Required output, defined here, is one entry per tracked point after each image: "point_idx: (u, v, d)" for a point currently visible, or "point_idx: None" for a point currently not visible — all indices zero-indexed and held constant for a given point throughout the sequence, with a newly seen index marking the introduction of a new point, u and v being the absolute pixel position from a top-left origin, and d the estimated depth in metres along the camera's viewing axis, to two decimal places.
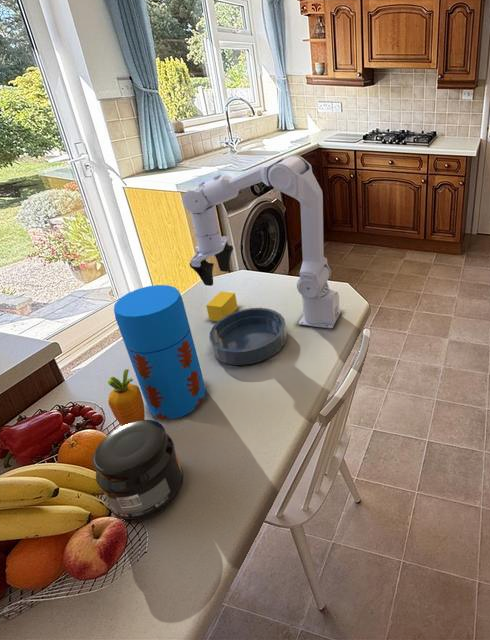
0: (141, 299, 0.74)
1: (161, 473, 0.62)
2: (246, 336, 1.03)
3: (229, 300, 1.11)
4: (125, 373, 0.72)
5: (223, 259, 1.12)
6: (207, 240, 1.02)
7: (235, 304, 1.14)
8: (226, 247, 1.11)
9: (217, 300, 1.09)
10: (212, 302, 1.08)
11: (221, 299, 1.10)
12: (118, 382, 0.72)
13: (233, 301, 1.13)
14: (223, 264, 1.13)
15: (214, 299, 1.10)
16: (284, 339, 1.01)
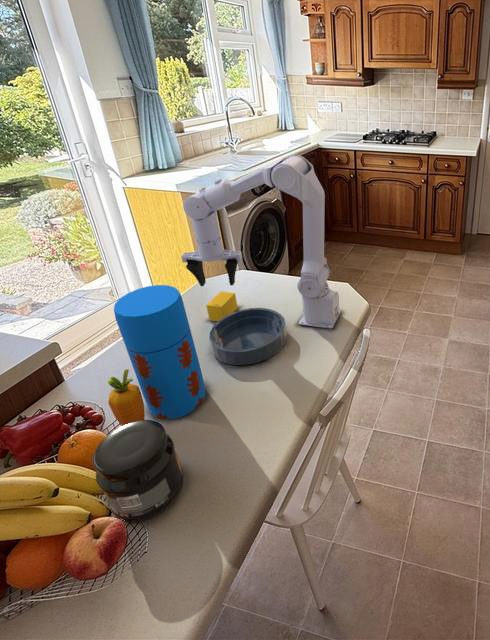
0: (141, 299, 0.74)
1: (161, 473, 0.62)
2: (246, 336, 1.03)
3: (229, 300, 1.11)
4: (125, 373, 0.72)
5: None
6: (197, 244, 1.02)
7: (235, 304, 1.14)
8: (230, 262, 1.05)
9: (217, 300, 1.09)
10: (212, 302, 1.08)
11: (221, 299, 1.10)
12: (118, 382, 0.72)
13: (233, 301, 1.13)
14: None
15: (214, 299, 1.10)
16: (284, 339, 1.01)
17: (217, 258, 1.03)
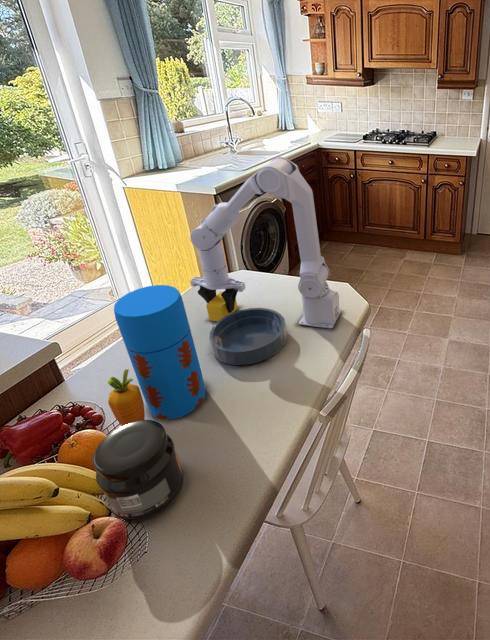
0: (141, 299, 0.74)
1: (161, 473, 0.62)
2: (246, 336, 1.03)
3: None
4: (125, 373, 0.72)
5: None
6: None
7: (235, 304, 1.14)
8: (232, 292, 1.07)
9: (217, 300, 1.09)
10: (212, 302, 1.08)
11: (221, 299, 1.10)
12: (118, 382, 0.72)
13: None
14: None
15: (214, 299, 1.10)
16: (284, 339, 1.01)
17: (219, 287, 1.05)
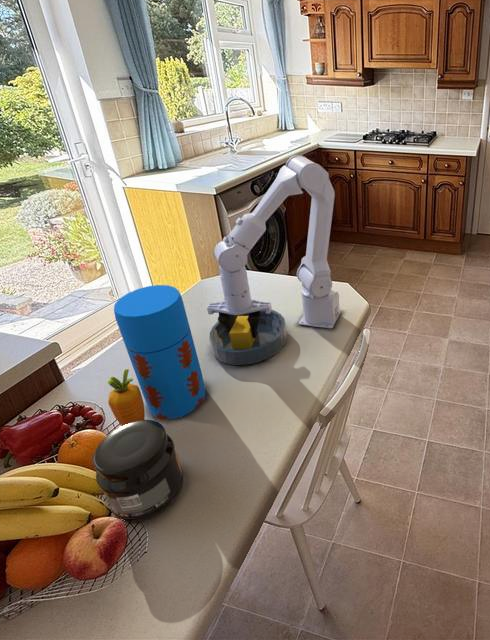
0: (141, 299, 0.74)
1: (161, 473, 0.62)
2: None
3: None
4: (125, 373, 0.72)
5: None
6: (224, 296, 0.94)
7: None
8: (259, 315, 0.97)
9: (240, 326, 0.99)
10: (235, 329, 0.98)
11: (244, 325, 0.99)
12: (118, 382, 0.72)
13: None
14: None
15: (235, 325, 0.99)
16: (284, 339, 1.01)
17: (245, 311, 0.95)
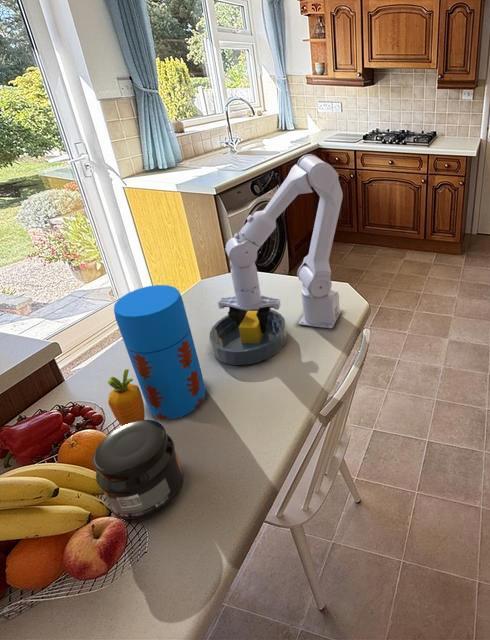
0: (141, 299, 0.74)
1: (162, 473, 0.62)
2: None
3: None
4: (125, 373, 0.72)
5: None
6: None
7: None
8: (267, 310, 0.99)
9: (249, 321, 1.01)
10: (244, 323, 1.00)
11: (253, 319, 1.01)
12: (118, 382, 0.72)
13: None
14: None
15: (245, 320, 1.01)
16: (284, 339, 1.01)
17: (254, 306, 0.97)
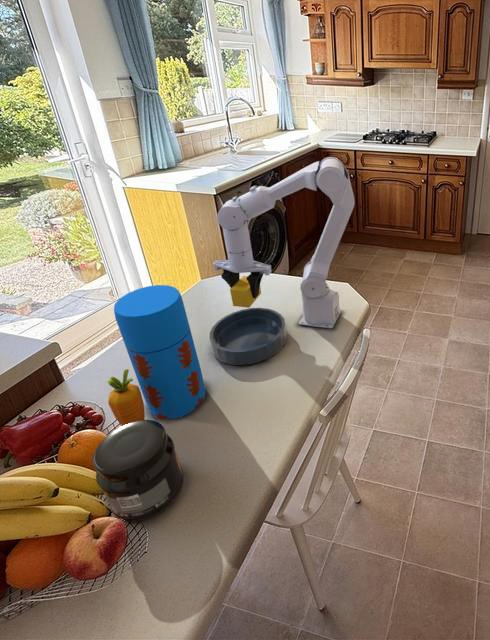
0: (141, 299, 0.74)
1: (162, 473, 0.62)
2: (246, 336, 1.03)
3: None
4: (125, 373, 0.72)
5: None
6: (227, 254, 0.99)
7: (259, 289, 1.08)
8: (258, 275, 1.01)
9: (241, 284, 1.03)
10: (236, 287, 1.02)
11: (245, 284, 1.04)
12: (118, 382, 0.72)
13: None
14: None
15: (238, 283, 1.04)
16: (284, 339, 1.01)
17: (245, 270, 0.99)
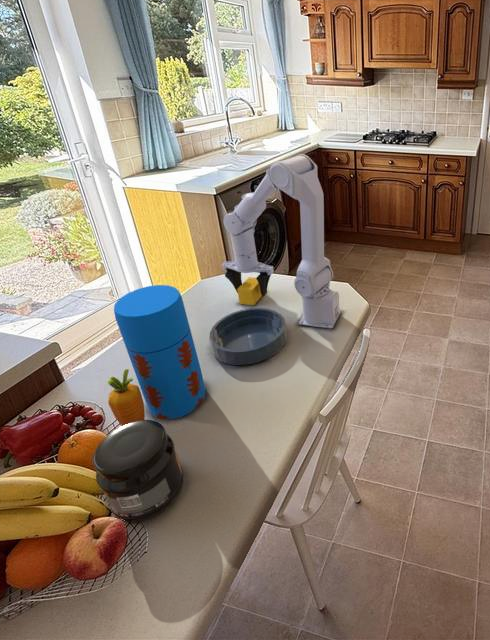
0: (141, 299, 0.74)
1: (161, 473, 0.62)
2: (246, 336, 1.03)
3: (258, 285, 1.18)
4: (125, 373, 0.72)
5: None
6: None
7: None
8: (261, 275, 1.14)
9: (247, 285, 1.17)
10: (243, 287, 1.16)
11: (251, 284, 1.17)
12: (118, 382, 0.72)
13: None
14: None
15: (244, 284, 1.17)
16: (284, 339, 1.01)
17: (250, 270, 1.13)
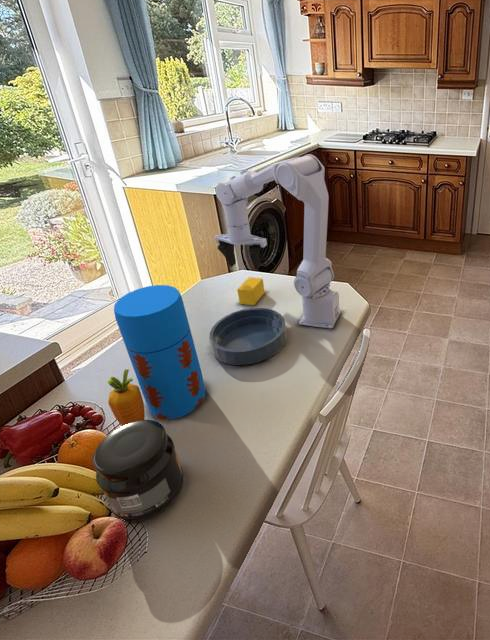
0: (141, 299, 0.74)
1: (162, 473, 0.62)
2: (246, 336, 1.03)
3: (258, 285, 1.18)
4: (125, 373, 0.72)
5: None
6: (227, 227, 1.11)
7: (263, 289, 1.21)
8: (254, 247, 1.13)
9: (247, 285, 1.17)
10: (243, 287, 1.16)
11: (251, 284, 1.17)
12: (118, 382, 0.72)
13: (261, 286, 1.20)
14: None
15: (244, 284, 1.17)
16: (284, 339, 1.01)
17: (243, 242, 1.11)
